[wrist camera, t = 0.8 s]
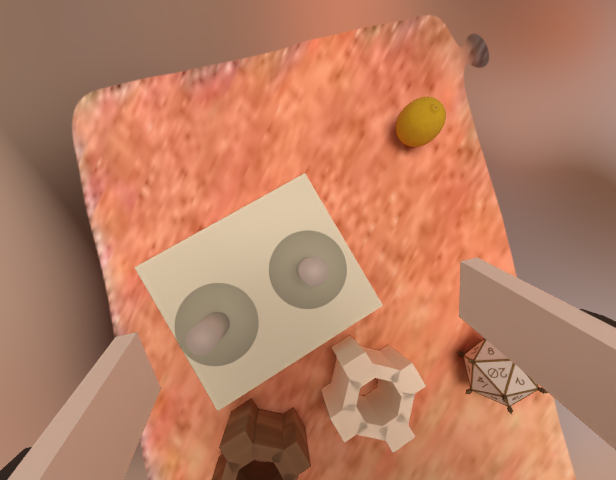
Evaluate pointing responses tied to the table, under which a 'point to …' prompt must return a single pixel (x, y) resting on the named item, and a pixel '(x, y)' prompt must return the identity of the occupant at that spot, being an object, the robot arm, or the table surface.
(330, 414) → the cream gear
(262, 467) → the walnut gear
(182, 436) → the table surface
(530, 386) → the game die
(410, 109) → the lemon
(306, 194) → the board
